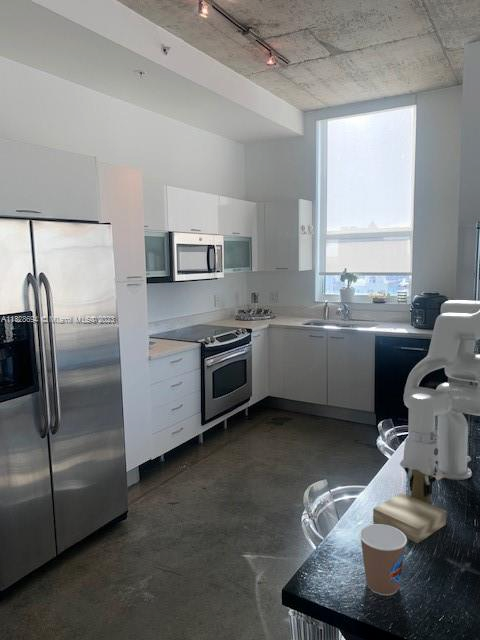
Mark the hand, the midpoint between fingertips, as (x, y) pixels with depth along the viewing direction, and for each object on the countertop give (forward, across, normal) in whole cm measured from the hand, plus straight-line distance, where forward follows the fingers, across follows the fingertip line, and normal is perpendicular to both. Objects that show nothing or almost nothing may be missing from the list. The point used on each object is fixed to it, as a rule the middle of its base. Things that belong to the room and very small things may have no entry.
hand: (420, 492), depth 147 cm
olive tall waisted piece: (+3, 0, 0) cm, 3 cm away
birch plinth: (+3, -5, +14) cm, 15 cm away
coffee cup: (+3, -16, +42) cm, 45 cm away
